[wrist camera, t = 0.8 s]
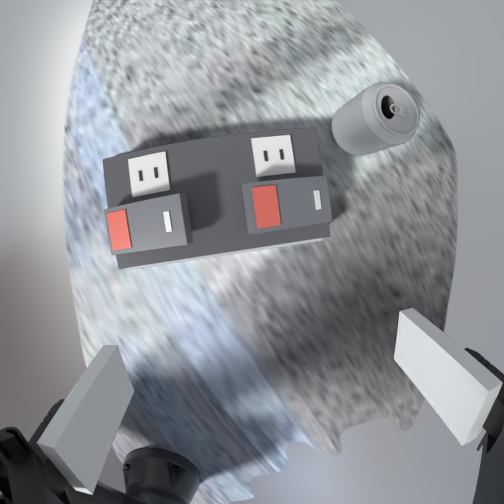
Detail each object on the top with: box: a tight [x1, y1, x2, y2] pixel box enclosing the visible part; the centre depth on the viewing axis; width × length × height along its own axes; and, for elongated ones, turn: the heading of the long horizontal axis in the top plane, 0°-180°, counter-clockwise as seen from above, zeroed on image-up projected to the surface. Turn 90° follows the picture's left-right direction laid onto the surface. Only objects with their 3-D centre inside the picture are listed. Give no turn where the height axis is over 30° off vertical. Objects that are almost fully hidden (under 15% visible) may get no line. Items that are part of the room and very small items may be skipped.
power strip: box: [103, 128, 330, 270], centre depth 34 cm, size 15×26×5 cm, turn 98°
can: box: [331, 83, 420, 156], centre depth 31 cm, size 8×8×12 cm
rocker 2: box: [242, 176, 332, 234], centre depth 30 cm, size 5×9×2 cm, turn 98°
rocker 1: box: [104, 193, 193, 255], centre depth 29 cm, size 5×9×2 cm, turn 97°
